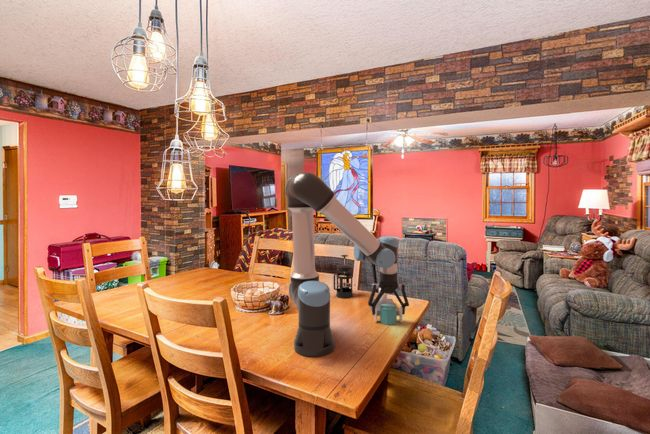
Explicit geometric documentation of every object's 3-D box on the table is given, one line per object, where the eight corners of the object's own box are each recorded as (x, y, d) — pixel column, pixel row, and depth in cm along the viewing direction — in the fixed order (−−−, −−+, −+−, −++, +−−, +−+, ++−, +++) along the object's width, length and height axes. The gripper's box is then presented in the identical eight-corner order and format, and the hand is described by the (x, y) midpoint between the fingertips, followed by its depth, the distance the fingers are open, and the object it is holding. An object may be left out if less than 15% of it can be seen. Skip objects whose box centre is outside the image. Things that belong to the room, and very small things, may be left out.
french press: (356, 294, 184) (356, 254, 183) (350, 299, 176) (350, 257, 174) (337, 292, 189) (337, 252, 188) (330, 296, 181) (330, 255, 180)
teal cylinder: (397, 324, 141) (397, 309, 141) (381, 324, 142) (381, 308, 141) (394, 318, 148) (394, 303, 148) (379, 318, 149) (379, 303, 148)
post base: (398, 315, 153) (398, 292, 152) (372, 315, 153) (372, 291, 152) (392, 302, 171) (392, 281, 170) (368, 302, 171) (369, 281, 170)
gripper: (412, 270, 147) (412, 318, 148) (361, 270, 148) (361, 317, 149) (416, 274, 139) (416, 324, 141) (363, 274, 140) (363, 324, 142)
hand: (388, 321), depth 145 cm, fingers open, 10 cm apart
